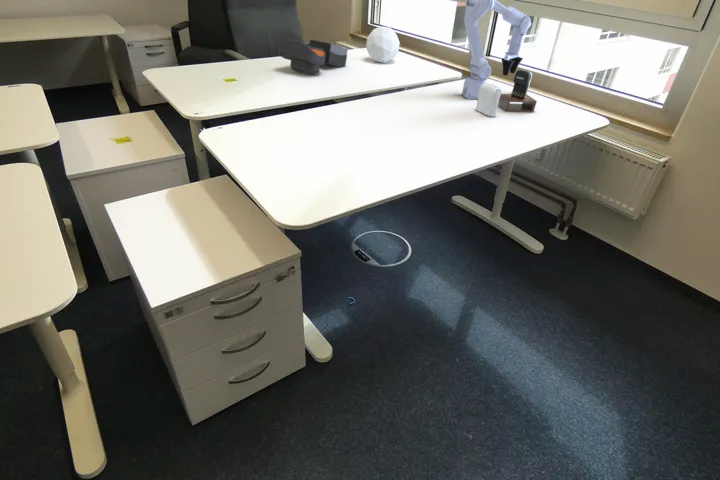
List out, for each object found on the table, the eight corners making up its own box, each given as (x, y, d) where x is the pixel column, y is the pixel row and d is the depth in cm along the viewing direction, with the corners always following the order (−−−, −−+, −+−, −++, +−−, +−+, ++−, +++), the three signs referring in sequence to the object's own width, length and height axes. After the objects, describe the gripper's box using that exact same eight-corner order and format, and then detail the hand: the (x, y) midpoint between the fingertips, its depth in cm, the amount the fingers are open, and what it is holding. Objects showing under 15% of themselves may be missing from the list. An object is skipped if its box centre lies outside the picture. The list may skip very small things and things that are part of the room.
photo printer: (473, 109, 191) (480, 81, 184) (481, 109, 192) (488, 80, 185) (489, 117, 183) (496, 87, 176) (496, 116, 185) (504, 87, 178)
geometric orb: (387, 75, 259) (402, 51, 241) (357, 60, 254) (370, 35, 237) (394, 53, 267) (408, 29, 249) (364, 38, 262) (377, 12, 245)
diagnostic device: (312, 38, 205) (277, 31, 214) (307, 74, 211) (273, 66, 220) (354, 49, 237) (321, 42, 246) (348, 81, 243) (316, 73, 252)
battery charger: (508, 95, 195) (515, 69, 189) (513, 94, 197) (520, 68, 191) (521, 99, 191) (528, 73, 184) (526, 98, 193) (533, 72, 186)
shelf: (505, 111, 192) (508, 100, 189) (496, 104, 200) (499, 93, 197) (533, 112, 194) (536, 101, 191) (523, 105, 202) (526, 94, 199)
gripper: (515, 40, 206) (507, 70, 213) (501, 43, 196) (494, 74, 204) (529, 43, 202) (521, 73, 210) (515, 46, 193) (507, 77, 200)
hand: (508, 74), depth 207 cm, fingers open, 7 cm apart
